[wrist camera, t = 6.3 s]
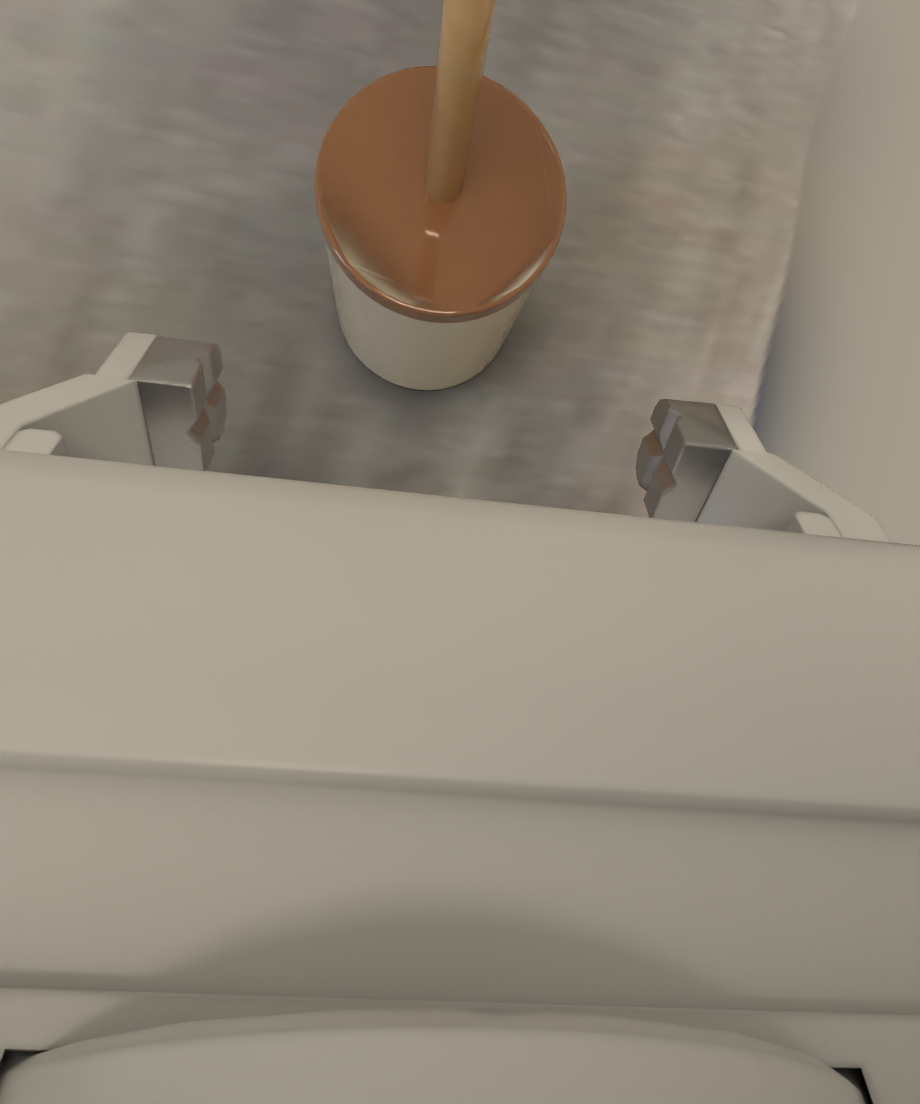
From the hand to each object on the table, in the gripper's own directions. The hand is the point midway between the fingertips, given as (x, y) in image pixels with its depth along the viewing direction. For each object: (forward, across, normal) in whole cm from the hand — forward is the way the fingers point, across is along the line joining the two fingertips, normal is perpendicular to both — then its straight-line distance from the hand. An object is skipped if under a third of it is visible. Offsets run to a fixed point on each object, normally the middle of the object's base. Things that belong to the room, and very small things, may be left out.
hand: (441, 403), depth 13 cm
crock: (+11, 0, +3) cm, 11 cm away
